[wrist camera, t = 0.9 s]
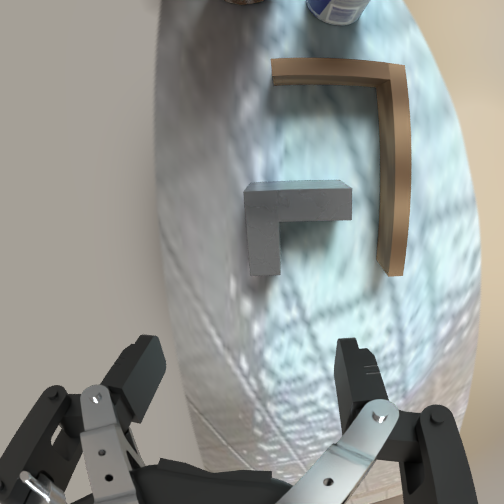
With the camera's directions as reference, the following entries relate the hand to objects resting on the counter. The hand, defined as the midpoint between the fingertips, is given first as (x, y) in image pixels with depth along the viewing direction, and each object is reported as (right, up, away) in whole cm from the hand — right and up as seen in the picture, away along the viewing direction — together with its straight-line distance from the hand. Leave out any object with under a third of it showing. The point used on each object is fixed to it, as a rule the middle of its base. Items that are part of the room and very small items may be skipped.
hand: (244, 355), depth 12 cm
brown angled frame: (+8, +12, +13) cm, 20 cm away
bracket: (+5, +8, +15) cm, 17 cm away
